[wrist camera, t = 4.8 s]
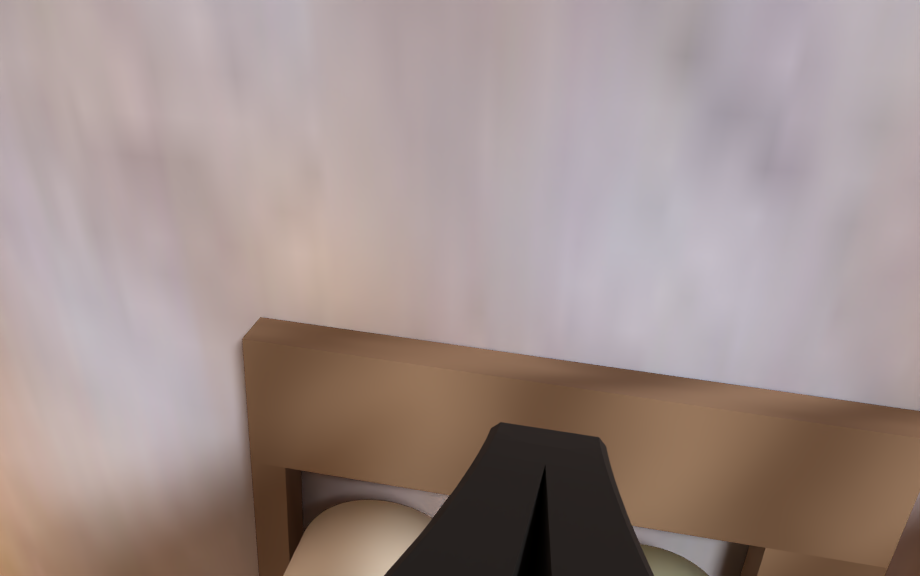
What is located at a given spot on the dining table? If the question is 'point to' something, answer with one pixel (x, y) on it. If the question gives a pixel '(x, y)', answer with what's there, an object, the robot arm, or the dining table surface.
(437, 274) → the dining table surface
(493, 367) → the brown compartment tray
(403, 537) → the cream puck
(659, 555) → the sage puck
